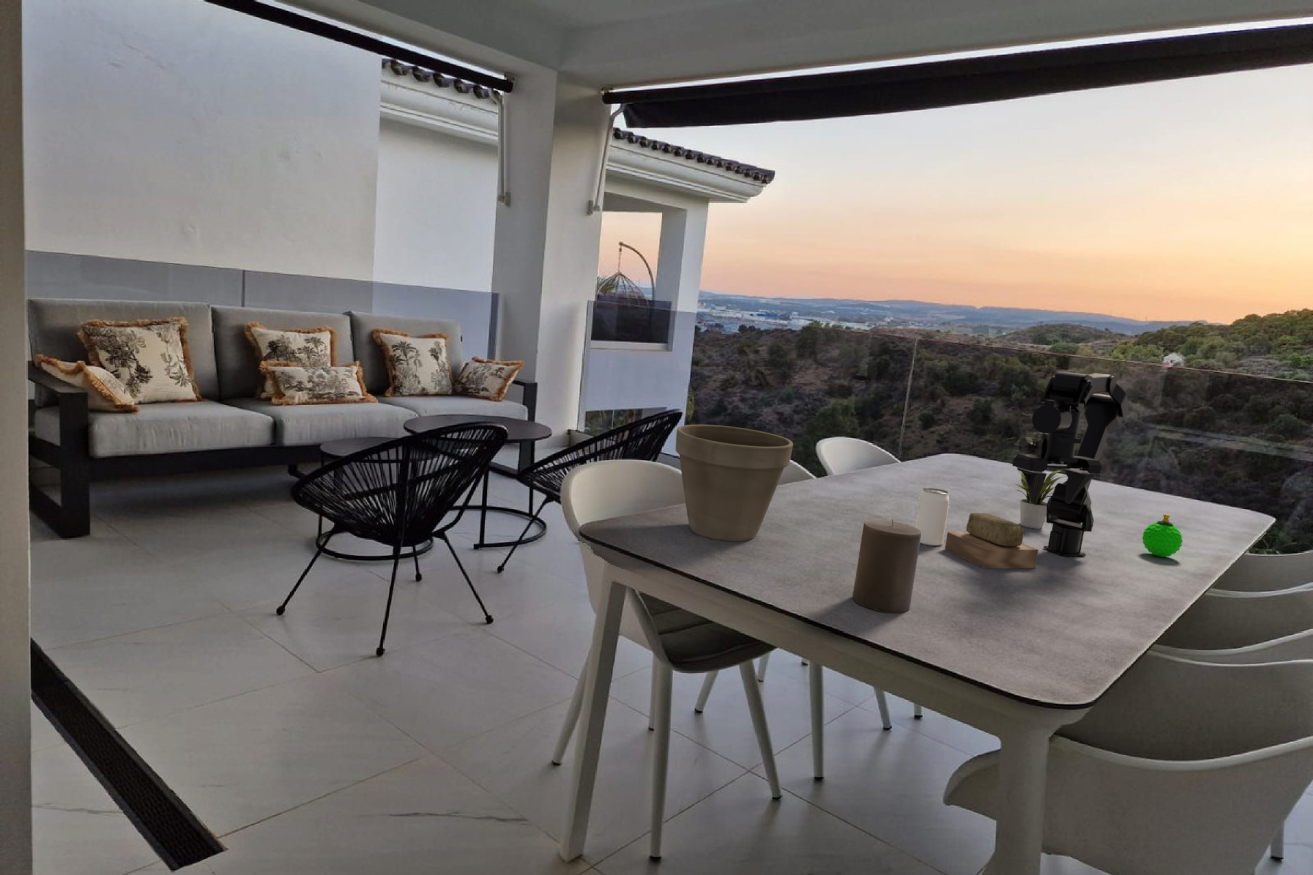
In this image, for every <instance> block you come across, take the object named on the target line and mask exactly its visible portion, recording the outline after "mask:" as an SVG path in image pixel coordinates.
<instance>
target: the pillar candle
mask: <svg viewBox="0 0 1313 875" xmlns="http://www.w3.org/2000/svg"><path fill="white" fill-rule="evenodd" d="M920 539H921V530H920V529H918V528H916V527H915V526H913V525H909V524H907V523H903V522H902V523H901V522H897V521H894V518H892V519H891V520H887V519H877V518H876V519H867V520H865V521H863V527H862V533H861V539H860V546H859V552H858V558H857V559H858V560H857V566H856V570H855V578H854V586H853V591H852V598H853V601H854V602H855V603H857V605H860V606H861V607H865V608H867V609H871V610H874V611H877V612H881V613H887V614H888V613H891V614H899V613H906V612H908V611H909V610H910V608H911V602H912V596H913V590H914V583H915V577H916V576H915V575H916V569H917V564H918V558H919V551H920V546H921V545H920Z"/></svg>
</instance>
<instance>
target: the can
mask: <svg viewBox="0 0 1313 875" xmlns="http://www.w3.org/2000/svg"><path fill="white" fill-rule="evenodd" d="M949 506H950V498H949V491H947V490H945V489H941V488H935V487H922V490H921V492H920V494H919V498H918V503H917V508H916V509H917V511H916V516H915V525H914V527H916V528H918V529H920V530H921V539H920V544H921V545H925V546H928V547H929V546H931V547H939V546H941V545H943V544H944V541H945V532H946V526H947V519H948V513H949Z"/></svg>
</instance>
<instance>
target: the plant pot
mask: <svg viewBox="0 0 1313 875" xmlns="http://www.w3.org/2000/svg"><path fill="white" fill-rule="evenodd" d="M675 435H676V437H675V451H676V453H677V454H678V455H679V465H680V472H681V480H682V487H683V494H684V500H685V508H686V514H687V520H688V521H687V522H688V525H689V528H690V531H692V532H693V533H694V534H696V535H699V536H701V537H704V538H708V539H712V540H716V541H717V540H719V541H722V542H723V541H724V542H744V541H745V542H746V541H751V540H752V539H754V538H755V537H757V535H758V532H759V530H760V529H761V527H762V524H763V522H764V519H765V516H766V514H767V511H768V509H769V507H770V504H771V501H772V500H773V497H774V496H775V495H774V494H775V492H776V489H777V487H778V484H779V483H780V482H779V481H780V480H781V477H782V474H783V472H784V469H785V468H786V467H788V466H789V465H790V463H791V462H790V461H791V458H792V451H793V447H794V443H793V441H792V440H790V439H789V438H786V437H784V436H781V435H778V434H773V433H769V432H765V431H761V430H754V429H750V428H742V427H735V426H729V425H727V426H726V425H719V424H718V425H717V424H716V425H715V424H685V425H681V426H679V427H677V429H676V434H675Z"/></svg>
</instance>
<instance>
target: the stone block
mask: <svg viewBox="0 0 1313 875" xmlns="http://www.w3.org/2000/svg"><path fill="white" fill-rule="evenodd" d="M965 527H966V528H965V530H966V531H965V532H969V533H970V534H972V535H974V536H976V537H979V538H981V539H984V540H987V541H989V542H992V543H994V544H997V545H1001V546H1012V547H1016V546H1020V545H1021V544H1022V543H1023V539H1024V531H1025V530H1024V528H1023V526H1022V525H1021V524H1019V523H1017V522H1013V521H1010V520H1008V519H1006V518H1003V517H999V516H996V515H994V514H990V513H976V512H970V514H969V517H968V520H967V524H966V526H965Z"/></svg>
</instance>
